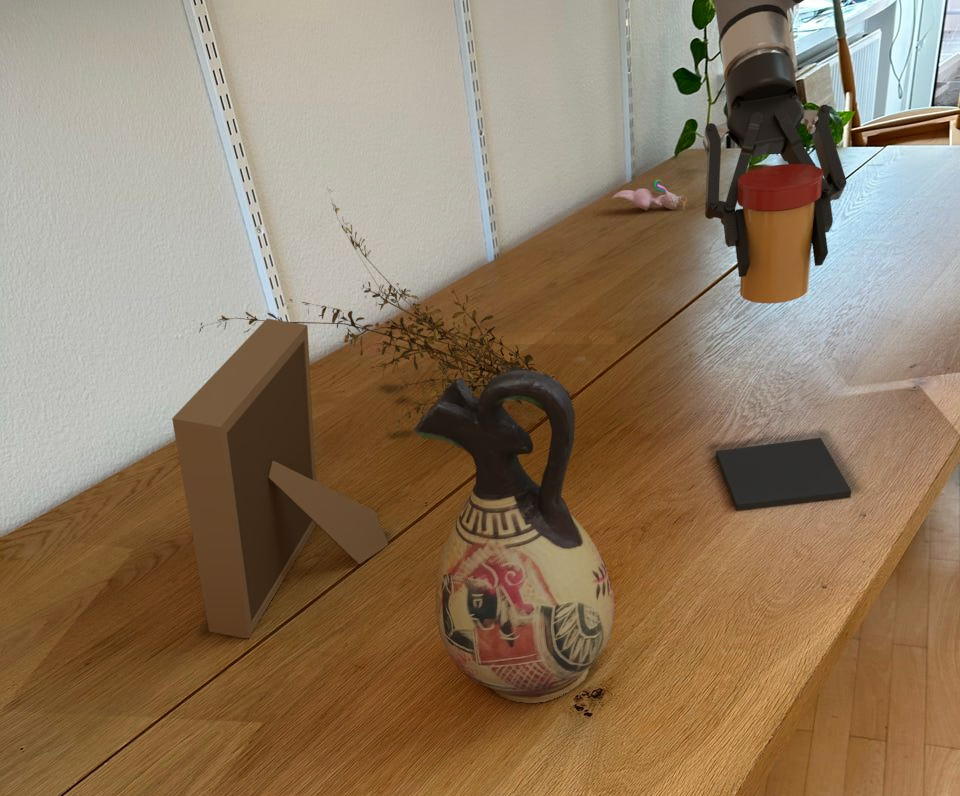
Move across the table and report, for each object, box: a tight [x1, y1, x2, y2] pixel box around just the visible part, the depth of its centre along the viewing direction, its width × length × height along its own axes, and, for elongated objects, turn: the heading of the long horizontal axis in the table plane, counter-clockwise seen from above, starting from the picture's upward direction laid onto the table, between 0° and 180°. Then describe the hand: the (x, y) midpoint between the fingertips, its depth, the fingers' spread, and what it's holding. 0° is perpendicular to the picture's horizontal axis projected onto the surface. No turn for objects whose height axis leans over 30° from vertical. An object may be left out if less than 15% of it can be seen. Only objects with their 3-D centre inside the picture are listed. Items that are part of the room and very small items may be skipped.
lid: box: [737, 163, 824, 211], centre depth 98 cm, size 9×9×2 cm
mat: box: [715, 437, 852, 512], centre depth 101 cm, size 12×12×1 cm
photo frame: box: [171, 318, 389, 639], centre depth 92 cm, size 15×22×25 cm
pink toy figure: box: [611, 179, 688, 211], centre depth 181 cm, size 6×6×15 cm
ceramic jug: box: [413, 368, 616, 704], centre depth 73 cm, size 17×15×30 cm
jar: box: [739, 201, 815, 304], centre depth 101 cm, size 8×8×12 cm
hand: (782, 265), depth 100 cm, fingers closed on jar, 8 cm apart
